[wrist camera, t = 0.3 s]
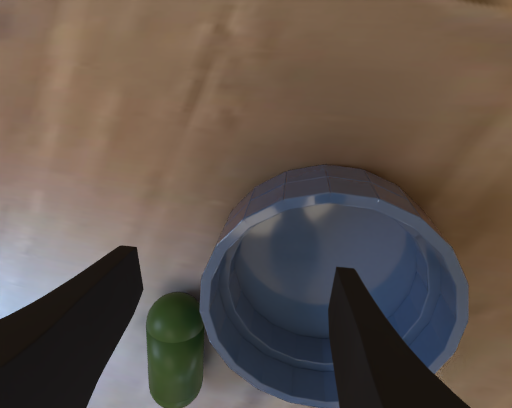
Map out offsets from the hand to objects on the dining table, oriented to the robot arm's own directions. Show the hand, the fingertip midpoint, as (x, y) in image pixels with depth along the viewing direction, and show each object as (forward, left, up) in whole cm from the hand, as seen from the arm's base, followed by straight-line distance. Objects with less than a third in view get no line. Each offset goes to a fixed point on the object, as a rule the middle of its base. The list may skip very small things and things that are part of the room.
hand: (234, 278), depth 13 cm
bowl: (-1, -7, -10) cm, 12 cm away
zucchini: (-13, -4, -10) cm, 17 cm away
